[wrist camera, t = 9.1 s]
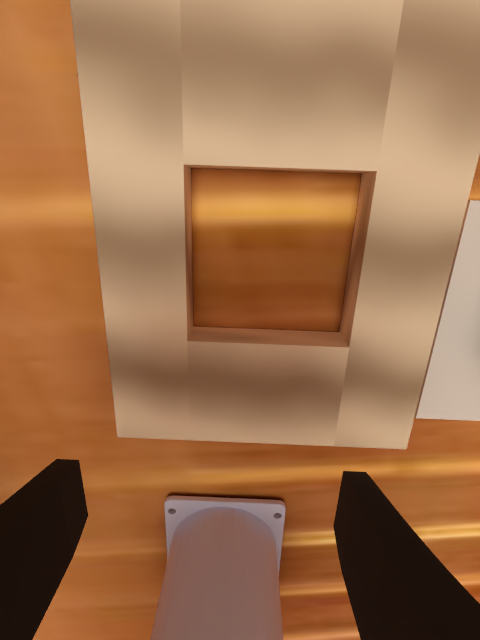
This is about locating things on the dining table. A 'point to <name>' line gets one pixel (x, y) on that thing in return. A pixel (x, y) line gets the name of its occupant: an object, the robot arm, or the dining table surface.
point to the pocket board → (279, 155)
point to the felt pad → (457, 335)
